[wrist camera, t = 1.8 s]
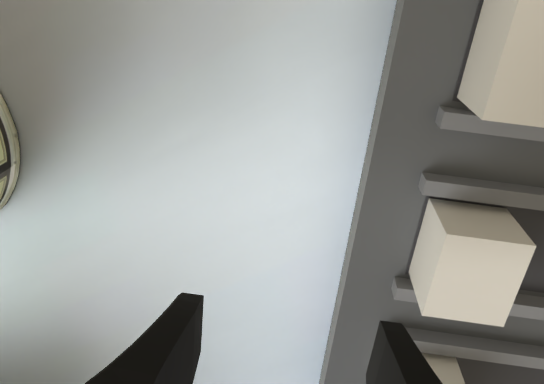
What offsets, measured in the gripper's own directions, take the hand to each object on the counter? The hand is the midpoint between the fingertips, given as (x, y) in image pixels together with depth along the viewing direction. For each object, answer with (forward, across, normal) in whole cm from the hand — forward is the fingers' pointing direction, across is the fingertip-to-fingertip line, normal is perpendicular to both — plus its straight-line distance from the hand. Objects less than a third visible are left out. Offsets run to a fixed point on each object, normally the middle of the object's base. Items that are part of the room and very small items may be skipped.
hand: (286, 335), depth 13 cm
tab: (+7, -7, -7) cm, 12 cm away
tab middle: (+7, -7, 0) cm, 9 cm away
